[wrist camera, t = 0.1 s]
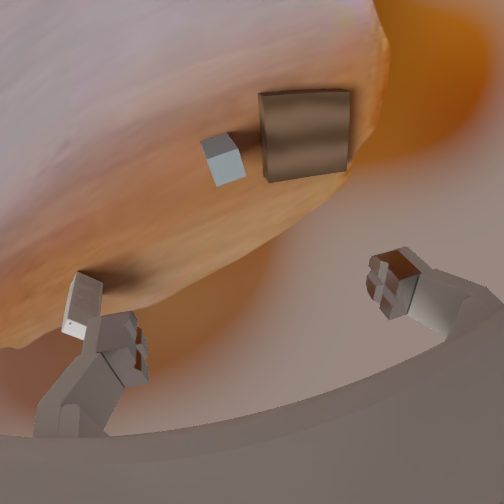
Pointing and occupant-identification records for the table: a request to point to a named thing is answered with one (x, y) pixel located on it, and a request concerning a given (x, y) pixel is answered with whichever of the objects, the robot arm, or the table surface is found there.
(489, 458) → the robot arm
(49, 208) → the table surface
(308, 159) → the walnut plinth
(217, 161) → the slate block
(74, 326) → the skincare box
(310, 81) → the table surface
